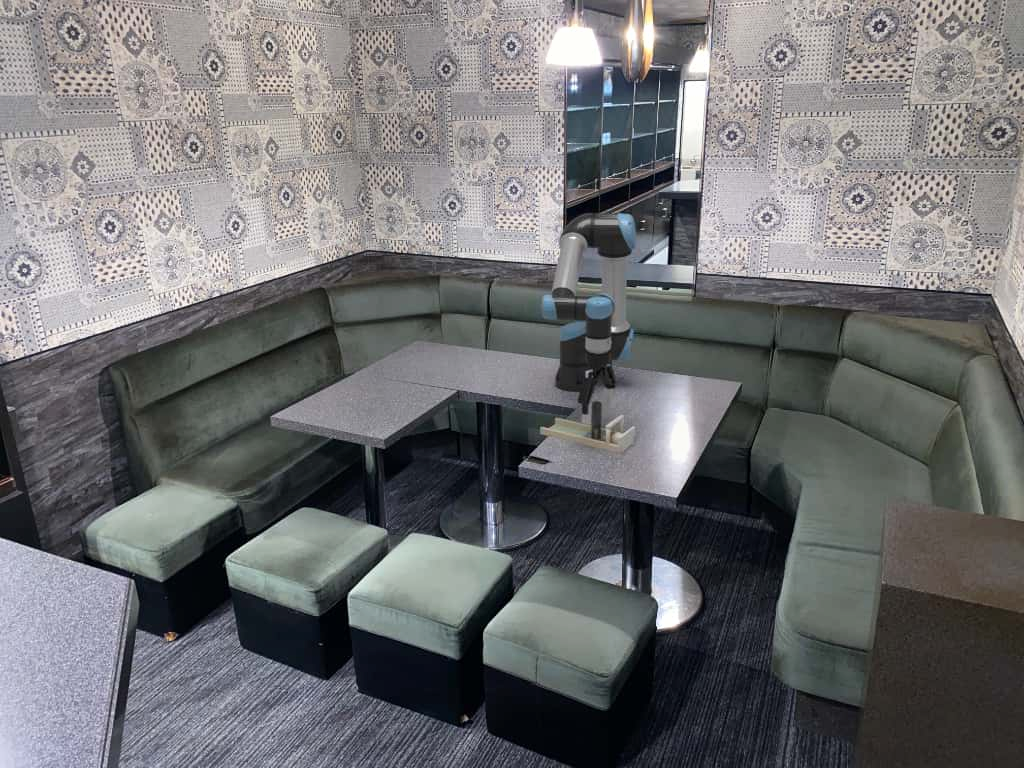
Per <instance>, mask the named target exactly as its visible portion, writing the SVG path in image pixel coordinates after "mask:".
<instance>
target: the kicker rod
mask: <svg viewBox="0 0 1024 768" xmlns="http://www.w3.org/2000/svg"><path fill="white" fill-rule="evenodd" d="M602 408H603V402H601V401H598V400H596V401H595V400H594V401H592V402H591V431H590V432H588V433H587V434H585V435H584V436H583V437H586V438H590V439H594V440H599V441H603V442H606V434H605V433H601V428H602V414H603V413H602V411H603V409H602ZM610 430H611V431H610V443H611V442H612V441H611V437H612V435H613V434H614V433H615V431H616V430H614V429H610Z"/></svg>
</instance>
